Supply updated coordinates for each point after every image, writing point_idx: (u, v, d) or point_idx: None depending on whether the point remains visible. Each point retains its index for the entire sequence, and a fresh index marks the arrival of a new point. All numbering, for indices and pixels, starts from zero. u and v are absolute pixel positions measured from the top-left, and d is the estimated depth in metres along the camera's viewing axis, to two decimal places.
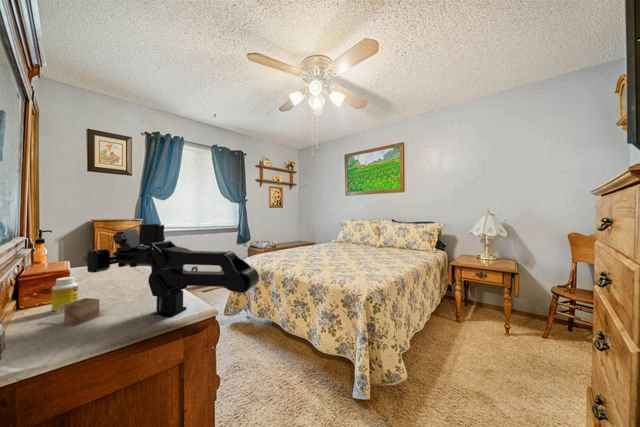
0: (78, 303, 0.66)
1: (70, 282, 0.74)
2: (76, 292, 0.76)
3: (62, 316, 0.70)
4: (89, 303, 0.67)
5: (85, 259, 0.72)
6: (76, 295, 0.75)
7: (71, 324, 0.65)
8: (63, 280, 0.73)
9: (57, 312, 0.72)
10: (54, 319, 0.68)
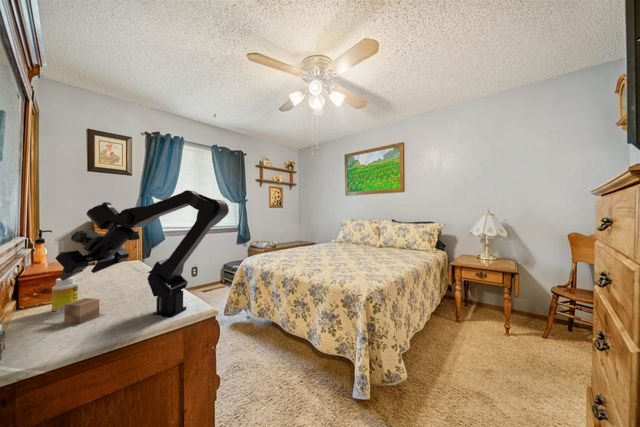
0: (78, 303, 0.66)
1: (70, 282, 0.74)
2: (76, 292, 0.76)
3: (62, 316, 0.70)
4: (89, 303, 0.67)
5: (63, 277, 0.69)
6: (76, 295, 0.75)
7: (71, 324, 0.65)
8: None
9: (57, 312, 0.72)
10: (54, 319, 0.68)
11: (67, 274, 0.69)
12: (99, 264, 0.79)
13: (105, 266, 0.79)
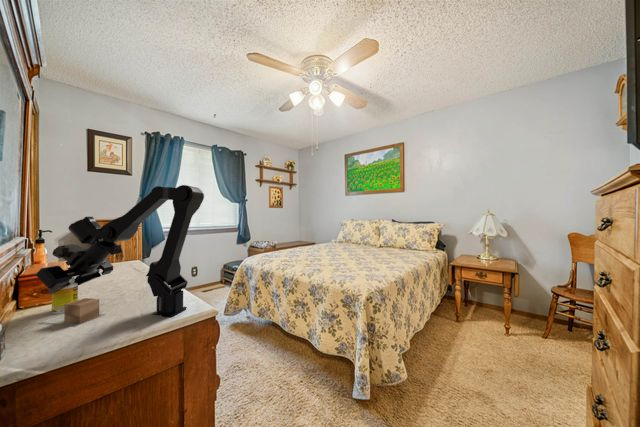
0: (78, 303, 0.66)
1: (70, 282, 0.74)
2: (76, 292, 0.76)
3: (62, 316, 0.70)
4: (89, 303, 0.67)
5: (51, 290, 0.71)
6: (76, 295, 0.75)
7: (71, 324, 0.65)
8: None
9: (57, 312, 0.72)
10: (54, 319, 0.68)
11: (55, 288, 0.71)
12: (78, 278, 0.78)
13: (84, 281, 0.78)
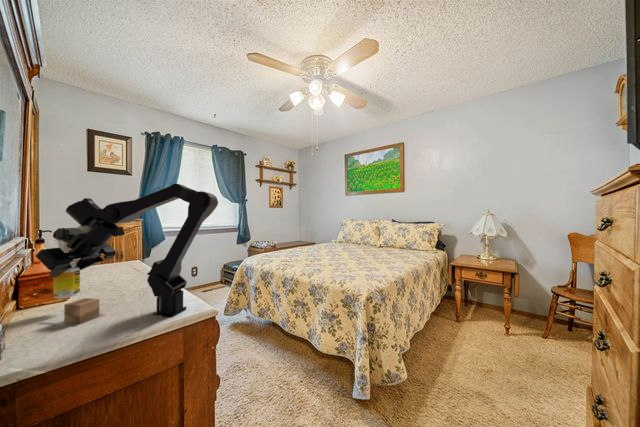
0: (78, 303, 0.66)
1: (72, 266, 0.73)
2: (78, 276, 0.74)
3: (62, 316, 0.70)
4: (89, 303, 0.67)
5: (52, 274, 0.69)
6: (78, 279, 0.74)
7: (71, 324, 0.65)
8: None
9: (59, 296, 0.70)
10: (54, 319, 0.68)
11: (56, 271, 0.69)
12: (80, 263, 0.76)
13: (86, 265, 0.76)
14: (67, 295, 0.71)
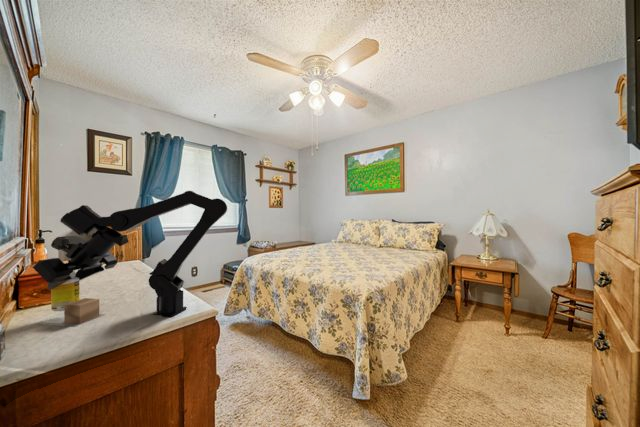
0: (78, 303, 0.66)
1: (71, 276, 0.68)
2: (77, 287, 0.70)
3: (62, 316, 0.70)
4: (89, 303, 0.67)
5: (50, 285, 0.65)
6: (77, 291, 0.70)
7: (71, 324, 0.65)
8: None
9: (57, 309, 0.66)
10: (54, 319, 0.68)
11: (55, 283, 0.65)
12: (79, 273, 0.72)
13: (86, 275, 0.72)
14: None
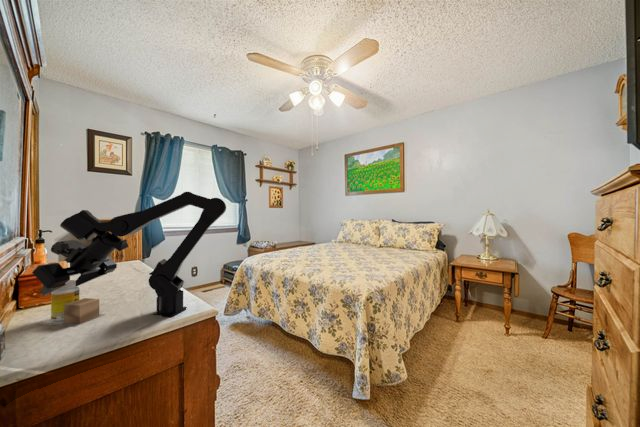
0: (78, 303, 0.66)
1: (71, 286, 0.68)
2: (77, 297, 0.70)
3: None
4: (89, 303, 0.67)
5: (43, 292, 0.64)
6: None
7: (71, 324, 0.65)
8: None
9: (57, 319, 0.66)
10: None
11: (48, 289, 0.63)
12: (83, 276, 0.73)
13: (89, 278, 0.73)
14: None
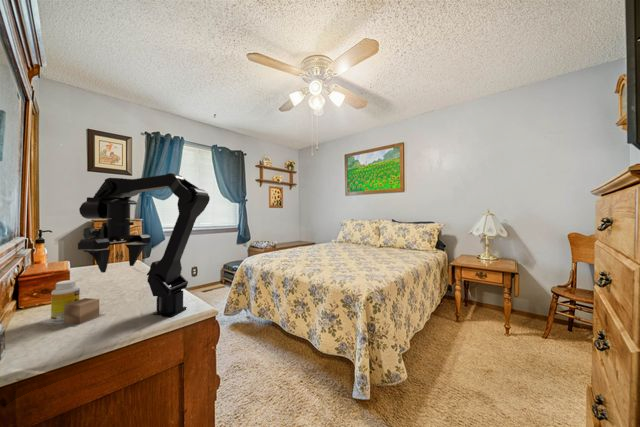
0: (78, 303, 0.66)
1: (71, 286, 0.69)
2: (78, 297, 0.70)
3: None
4: (89, 303, 0.67)
5: (101, 268, 0.70)
6: None
7: (71, 324, 0.65)
8: (63, 284, 0.67)
9: (57, 319, 0.66)
10: None
11: (102, 261, 0.69)
12: (131, 255, 0.80)
13: (136, 253, 0.80)
14: None
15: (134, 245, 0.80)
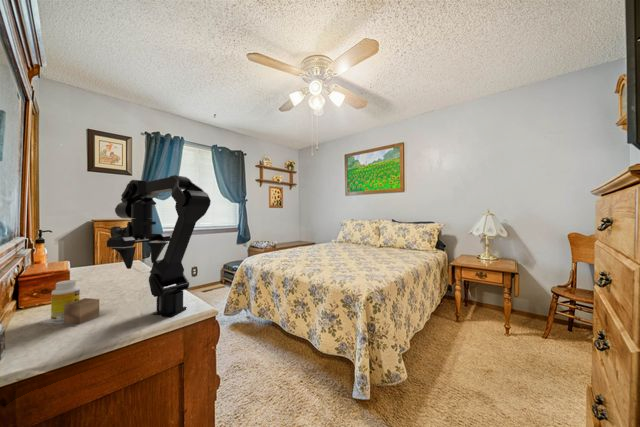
0: (78, 303, 0.66)
1: (71, 286, 0.69)
2: (78, 297, 0.70)
3: None
4: (89, 303, 0.67)
5: (127, 265, 0.75)
6: None
7: (71, 324, 0.65)
8: (63, 284, 0.67)
9: (57, 319, 0.66)
10: None
11: (128, 258, 0.74)
12: (153, 253, 0.85)
13: (158, 250, 0.84)
14: None
15: (156, 243, 0.85)
